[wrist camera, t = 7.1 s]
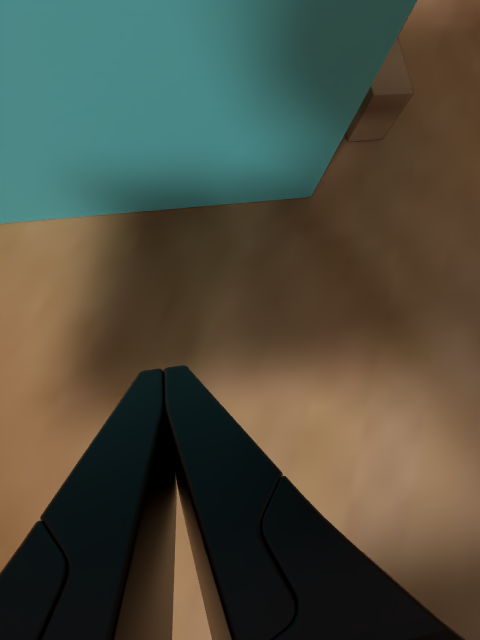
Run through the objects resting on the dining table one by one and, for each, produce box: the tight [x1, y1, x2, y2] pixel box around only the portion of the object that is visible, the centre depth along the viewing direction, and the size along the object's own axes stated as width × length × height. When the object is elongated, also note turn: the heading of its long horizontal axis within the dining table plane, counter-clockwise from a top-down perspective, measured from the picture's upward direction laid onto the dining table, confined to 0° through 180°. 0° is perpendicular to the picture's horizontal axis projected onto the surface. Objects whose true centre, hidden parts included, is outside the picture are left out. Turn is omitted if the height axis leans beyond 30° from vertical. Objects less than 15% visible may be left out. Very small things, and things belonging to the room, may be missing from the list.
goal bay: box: [346, 37, 414, 141], centre depth 16 cm, size 11×19×2 cm, turn 99°
